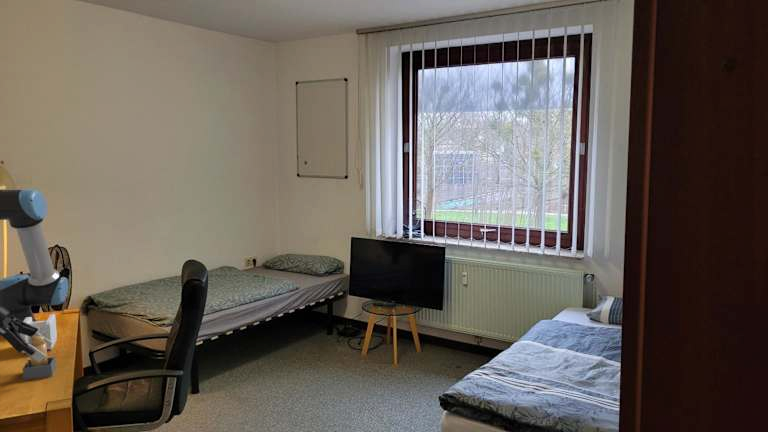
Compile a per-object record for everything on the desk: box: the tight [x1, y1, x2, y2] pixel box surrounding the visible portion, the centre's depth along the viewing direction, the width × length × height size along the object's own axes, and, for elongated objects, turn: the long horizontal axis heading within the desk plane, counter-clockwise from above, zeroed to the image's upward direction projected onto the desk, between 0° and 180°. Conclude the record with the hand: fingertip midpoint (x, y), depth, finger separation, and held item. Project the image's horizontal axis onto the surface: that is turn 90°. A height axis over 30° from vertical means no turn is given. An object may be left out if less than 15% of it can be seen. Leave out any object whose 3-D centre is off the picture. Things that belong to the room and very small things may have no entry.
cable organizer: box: [20, 313, 58, 354], centre depth 223 cm, size 15×11×12 cm
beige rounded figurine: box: [29, 335, 49, 367], centre depth 197 cm, size 5×5×12 cm
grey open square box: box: [22, 356, 57, 381], centre depth 197 cm, size 8×8×4 cm
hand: (46, 352), depth 198 cm, fingers open, 13 cm apart
